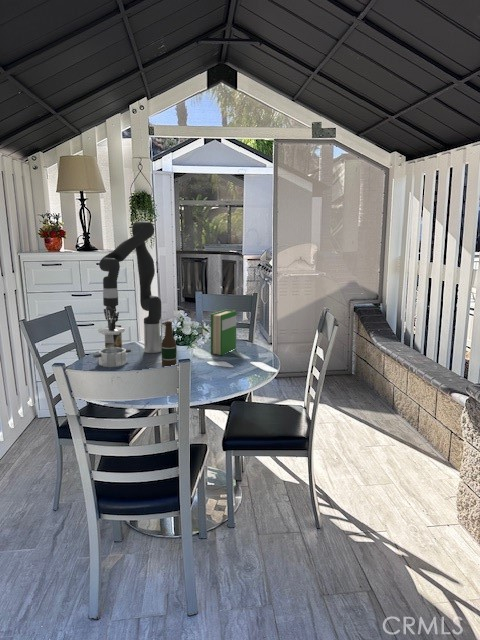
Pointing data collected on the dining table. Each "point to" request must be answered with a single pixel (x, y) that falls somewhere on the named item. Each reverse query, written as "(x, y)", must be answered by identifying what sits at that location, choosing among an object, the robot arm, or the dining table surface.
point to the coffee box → (113, 340)
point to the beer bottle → (169, 347)
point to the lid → (111, 332)
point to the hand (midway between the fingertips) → (111, 328)
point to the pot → (112, 356)
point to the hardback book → (223, 331)
